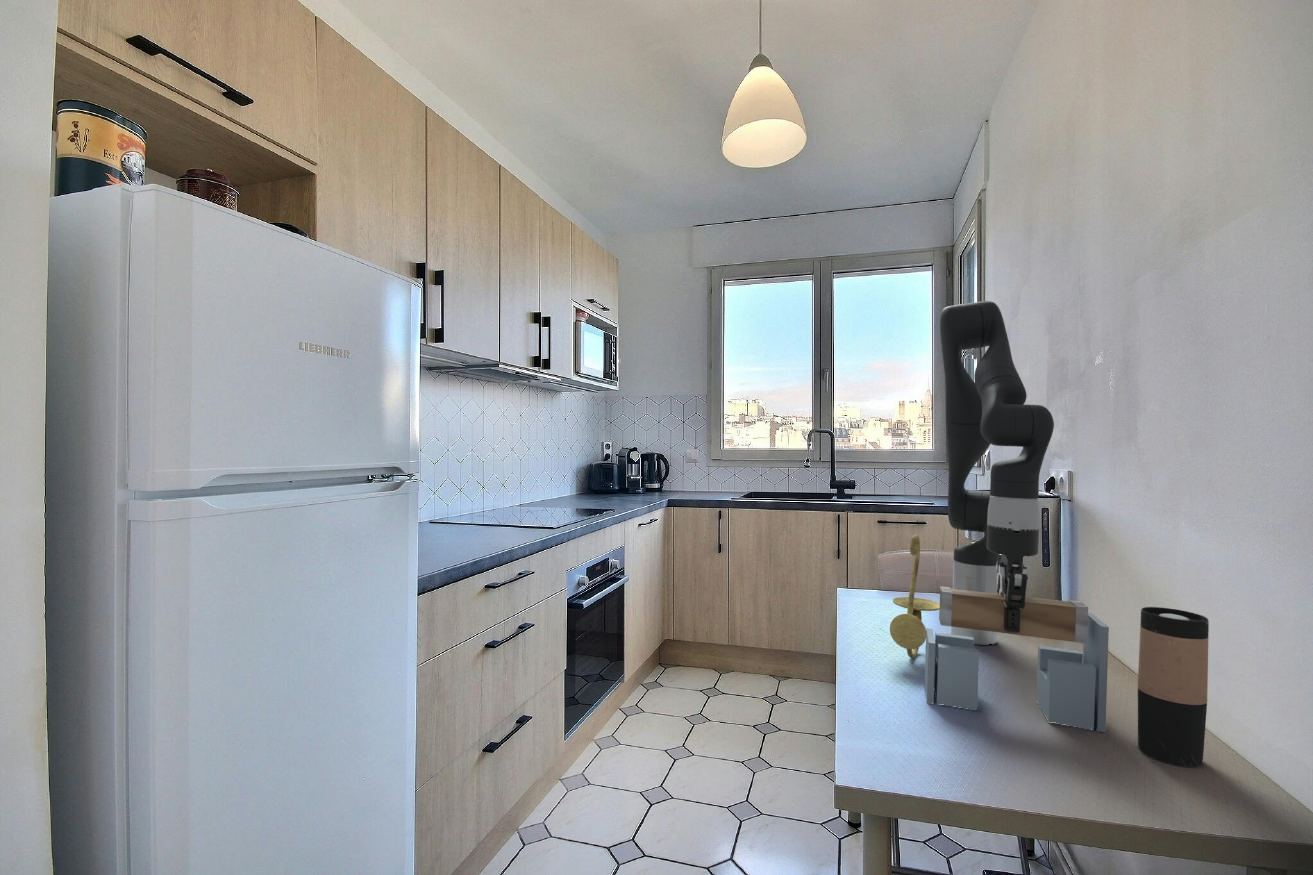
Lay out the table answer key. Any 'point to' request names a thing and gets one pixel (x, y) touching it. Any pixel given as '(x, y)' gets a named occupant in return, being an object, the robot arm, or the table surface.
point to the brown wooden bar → (1034, 619)
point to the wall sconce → (911, 611)
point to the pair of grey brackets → (1061, 676)
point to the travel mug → (1172, 685)
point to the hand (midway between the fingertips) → (1009, 627)
